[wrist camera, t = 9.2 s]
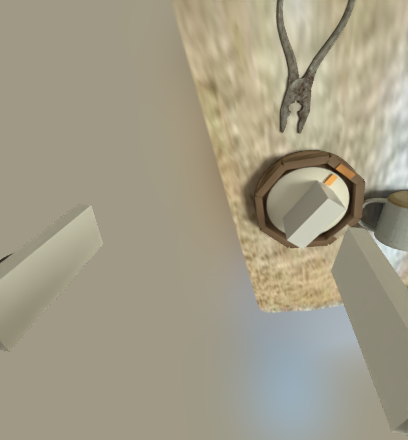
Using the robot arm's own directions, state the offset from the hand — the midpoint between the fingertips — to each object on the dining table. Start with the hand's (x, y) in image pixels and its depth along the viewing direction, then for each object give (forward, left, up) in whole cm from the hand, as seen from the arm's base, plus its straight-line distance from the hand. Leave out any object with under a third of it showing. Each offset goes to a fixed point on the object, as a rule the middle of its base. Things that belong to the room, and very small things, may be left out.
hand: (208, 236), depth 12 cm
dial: (+15, +10, -31) cm, 35 cm away
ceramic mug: (+19, +24, -33) cm, 45 cm away
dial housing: (+15, +10, -32) cm, 37 cm away
